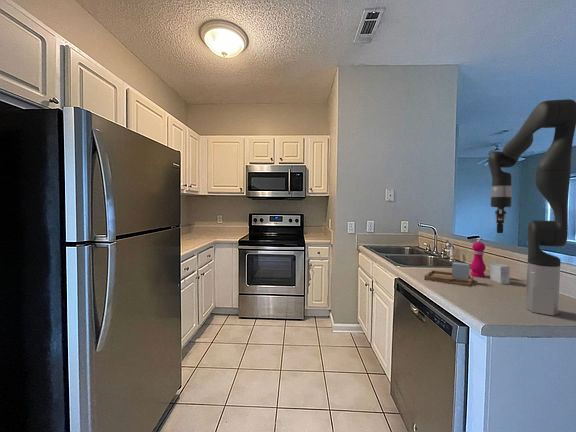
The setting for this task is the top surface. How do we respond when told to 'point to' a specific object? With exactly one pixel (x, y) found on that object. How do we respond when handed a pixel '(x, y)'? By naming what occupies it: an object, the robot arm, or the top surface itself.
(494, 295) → the top surface
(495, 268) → the medicine box
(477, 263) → the pepper mill
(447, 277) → the wooden serving tray
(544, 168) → the robot arm
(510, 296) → the top surface
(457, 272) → the panel block
